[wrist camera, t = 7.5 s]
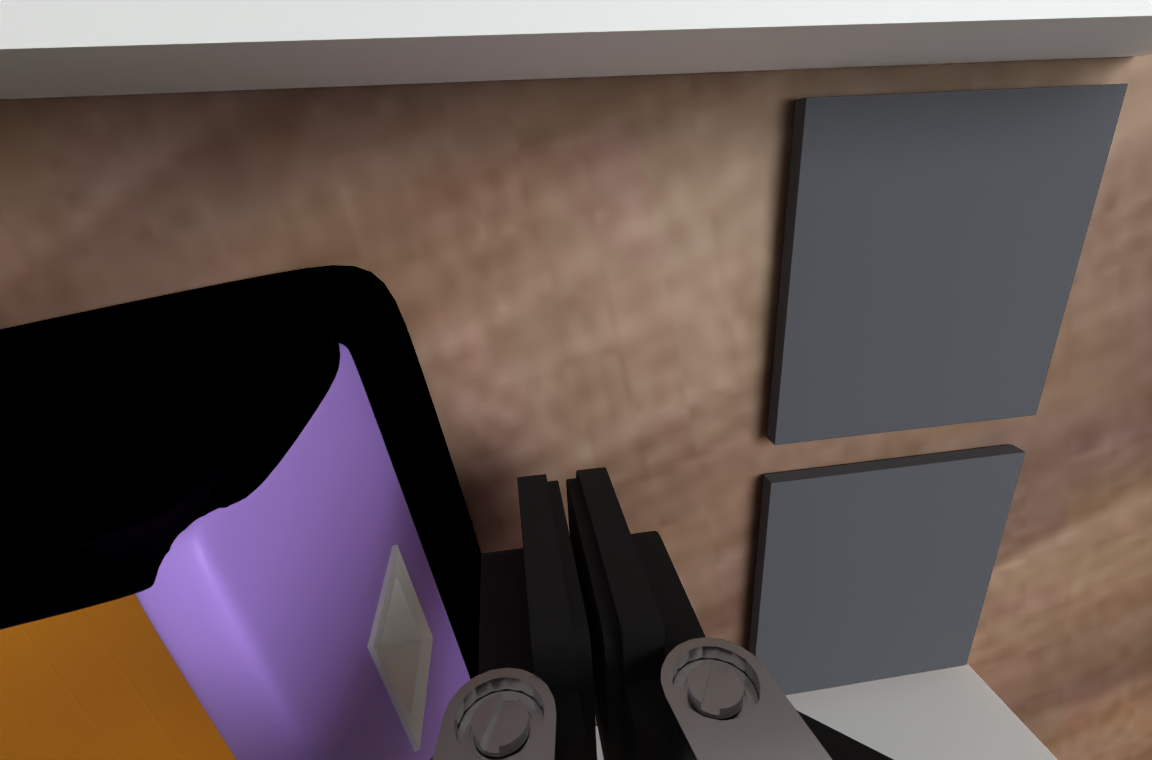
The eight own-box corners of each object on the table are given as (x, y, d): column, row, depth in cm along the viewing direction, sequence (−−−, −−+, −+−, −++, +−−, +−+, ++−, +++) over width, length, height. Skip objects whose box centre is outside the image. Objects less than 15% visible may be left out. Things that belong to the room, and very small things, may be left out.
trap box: (1154, -5, 11) (1651, -124, 6) (960, 687, 17) (1130, 879, 13) (-678, 40, 8) (-2468, -135, 3) (-57, 863, 14) (-316, 1198, 10)
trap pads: (1107, 86, 11) (1128, 83, 11) (955, 654, 17) (966, 664, 16) (795, 99, 11) (807, 97, 10) (745, 688, 16) (751, 701, 16)
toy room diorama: (387, 245, 11) (240, 374, 4) (526, 688, 15) (552, 1060, 9) (-291, 389, 10) (-1620, 787, 4) (69, 808, 15) (-250, 1304, 8)
